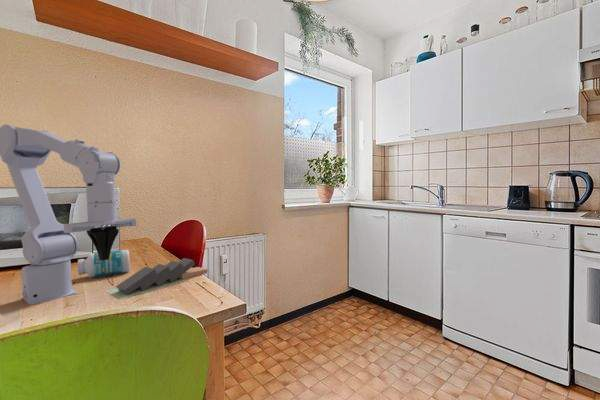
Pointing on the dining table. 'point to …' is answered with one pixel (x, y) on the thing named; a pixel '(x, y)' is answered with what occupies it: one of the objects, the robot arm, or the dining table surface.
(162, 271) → the domino
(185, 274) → the domino
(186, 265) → the domino
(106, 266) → the pill bottle
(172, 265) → the domino
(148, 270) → the domino
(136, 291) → the mat
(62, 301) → the dining table surface
